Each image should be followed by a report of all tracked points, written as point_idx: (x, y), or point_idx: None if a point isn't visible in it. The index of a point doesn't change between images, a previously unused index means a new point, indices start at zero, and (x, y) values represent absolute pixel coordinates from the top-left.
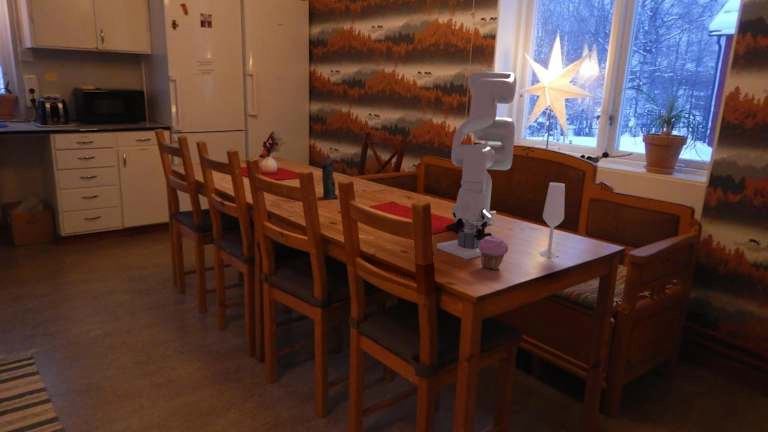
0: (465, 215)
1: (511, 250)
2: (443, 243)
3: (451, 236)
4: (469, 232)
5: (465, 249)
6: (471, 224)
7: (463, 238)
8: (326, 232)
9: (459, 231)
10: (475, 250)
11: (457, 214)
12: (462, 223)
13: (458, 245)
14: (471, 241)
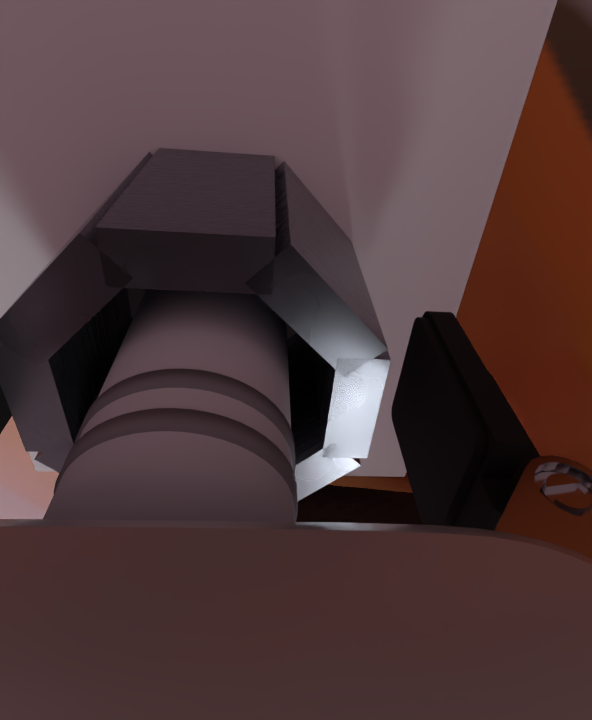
0: (16, 709)
1: (45, 509)
2: (495, 61)
3: (586, 430)
4: (123, 351)
5: (92, 111)
6: (58, 493)
7: (153, 191)
8: None
9: (281, 254)
10: (6, 200)
11: (552, 628)
12: (426, 507)
13: (268, 159)
14: (60, 250)
